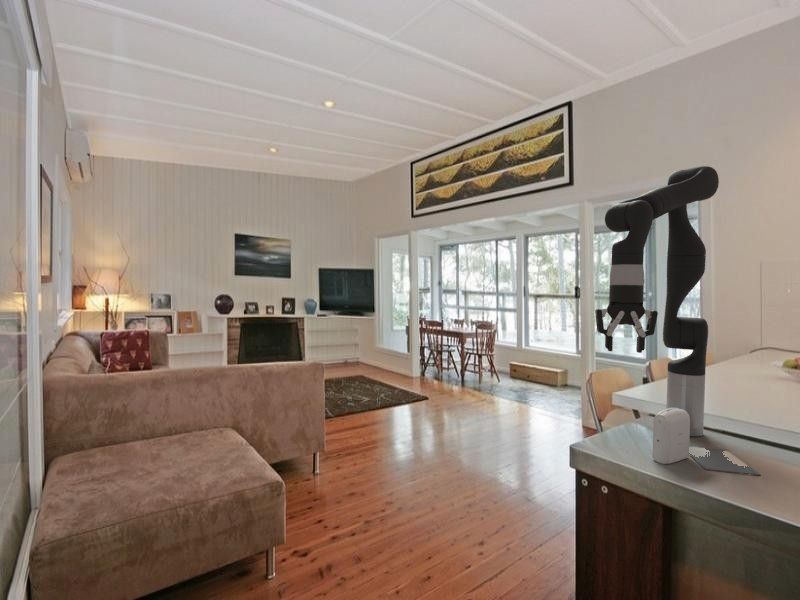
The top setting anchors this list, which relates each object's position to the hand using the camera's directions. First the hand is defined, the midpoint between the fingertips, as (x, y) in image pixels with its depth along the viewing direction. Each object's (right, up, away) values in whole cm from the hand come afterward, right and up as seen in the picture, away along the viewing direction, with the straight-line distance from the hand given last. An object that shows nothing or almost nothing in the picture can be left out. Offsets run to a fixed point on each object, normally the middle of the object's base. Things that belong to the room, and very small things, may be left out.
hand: (624, 351), depth 108 cm
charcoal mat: (+21, -26, -2) cm, 34 cm away
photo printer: (+10, -26, -2) cm, 28 cm away
